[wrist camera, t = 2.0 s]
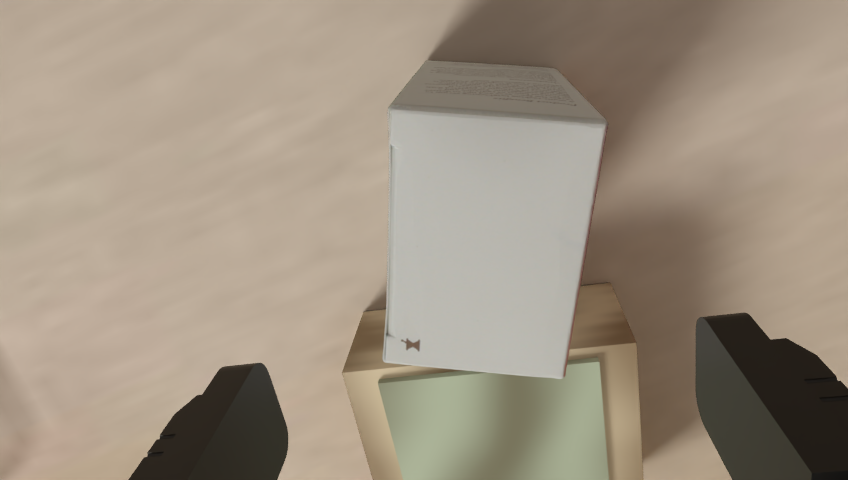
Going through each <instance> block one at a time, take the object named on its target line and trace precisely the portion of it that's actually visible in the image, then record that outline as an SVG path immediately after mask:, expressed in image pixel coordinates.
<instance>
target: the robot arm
mask: <svg viewBox="0 0 848 480" xmlns="http://www.w3.org/2000/svg"><path fill="white" fill-rule="evenodd" d="M696 398H697V404H698V408H699V412H700V416H701V419H702V422H703V424H704V426H705V428H706V430H707V432H708V434H709V436H710V438H711V440H712V442H713V444H714V446H715V447H716V449H717V451H718V453H719V455H720V457H721V459H722V461H723V463H724V465H725V467H726V468H727V470H728V472H729V474H730V476H731V478H732V480H848V388H847V387H846V386H845V385H844V384H843V383H842V382H841V381H837V377H836V376H835V374H834V373H833V372H832V371H831V370H830V369H829V368H828V367H827V366H826V365H825V364H824V363H823V362H822V360H821V359H820V358H819V357H818V356H817V355H815V354H814V353H812V352H810V351H808V350H806V349H805V348H803V347H801V346H799V345H797V344H796V343H794V342H792V341H790V340H788V339H787V338H784V339H773V340H770V339H769V338H768V336H767V335H766V334H765V333H764V332H763V330H762V329H761V328H760V327H759V326H758V324H757V323H756V322H755V321H754V320H753V319H752V317H751V316H750V315H749V314H747V313H736V314H727V315H717V316H708V317H700V318H699V319H698V320H697V324H696ZM287 450H288V431H287V426H286V423H285V420H284V417H283V414H282V411H281V408H280V405H279V402H278V399H277V396H276V393H275V390H274V387H273V384H272V381H271V378H270V375H269V373H268V370H267V368H266V367H265V366H264V365H263V364H262V363H254V364H244V365H235V366H226V367H222V368H221V369H220V370H219V371H218V372H217V374H216V375H215V377H214V378H213V380H212V381H211V383H210V384H209V386H208V387H207V388H206V390H205V391H204V393H203V394H202V395H197V396H196V397H195V398H193V399H192V400H191V401H190V402H189V403H187V404H186V405H185V406H184V407H183V408H182V409H180V410H179V411H178V412H177V413H176V414H174V416H173V417H172V419H171V420H170V422H169V423H168V424H167V426H166V427H165V429H164V430H163V431H162V433H161V434H160V439H158V440H156V441H155V443H154V444H153V446H152V447H151V449H150V450H149V451H148V456H147V457H144V458H143V460H142V461H141V463H140V464H139V466H138V467H137V468H136V470H135V471H134V473H133V474H132V476H131V477H130V478H129V480H277V479H278V476H279V474H280V471H281V469H282V466H283V464H284V461H285V458H286V455H287Z"/></svg>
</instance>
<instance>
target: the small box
mask: <svg viewBox="0 0 848 480" xmlns="http://www.w3.org/2000/svg"><path fill="white" fill-rule="evenodd" d="M607 129H608V122H607V121H606V119H605V118H604V117H603V116H602V115H601V114H600V113H599V112H598V111H597V110H596V109H595V108H594V107H593V106H592V105H591V104H590V103H589V102H588V101H587V100H586V99H585V98H584V97H583V96H582V94H581V93H580V92H579V91H578V90H577V89H576V88H575V87H574V86H573V85H572V84H571V83H570V82H569V81H568V80H567V79H566V78H565V77H564V76H563V75H562V74H561V73H560V72H559V71H558V70H557V69H555V68H545V67H532V66H517V65H501V64H484V63H468V62H450V61H425V62H424V64H423V65H422V66H421V68H420V69H419V70H418V71H417V72H416V73H415V75H414V76H413V77H412V78H411V80H410V81H409V82H408V83H407V84H406V86H405V87H404V88H403V90H402V91H401V92H400V93H399V95H398V96H397V97H396V98H395V100H394V101H393V102H392V103H391V105H390V106H389V108H388V133H389V210H388V259H387V296H386V317H385V332H384V346H383V355H382V359H383V361H384V362H385V363H393V364H403V365H413V366H421V367H433V368H443V369H454V370H465V371H476V372H487V373H497V374H508V375H518V376H530V377H543V378H555V379H562V378H564V377H565V375H566V368H567V362H568V356H569V350H570V344H571V338H572V332H573V326H574V320H575V314H576V308H577V303H578V297H579V291H580V285H581V279H582V273H583V267H584V261H585V256H586V250H587V244H588V238H589V232H590V226H591V220H592V214H593V209H594V203H595V197H596V191H597V186H598V180H599V174H600V168H601V161H602V155H603V149H604V143H605V138H606V133H607Z"/></svg>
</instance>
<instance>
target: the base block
mask: <svg viewBox="0 0 848 480" xmlns="http://www.w3.org/2000/svg"><path fill="white" fill-rule="evenodd" d="M385 317H386V309H383V310H375V311H367V312H363V315H362V318H361V321H360V323H359V326H358V329H357V332H356V335H355V338H354V340H353V343H352V346H351V349H350V352H349V355H348V357H347V360H346V363H345V366H344V369H343V372H342V375H343V378H344V381H345V385H346V388H347V392H348V395H349V399H350V402H351V406H352V409H353V413H354V416H355V420H356V423H357V426H358V430H359V433H360V437H361V440H362V444H363V447H364V451H365V454H366V458H367V461H368V465H369V468H370V471H371V475H372V478H373V480H643V463H642V443H641V423H640V403H639V383H638V363H637V343H636V340H635V338H634V336H633V334H632V331H631V329H630V327H629V325H628V322H627V320H626V318H625V315H624V313H623V311H622V309H621V306H620V304H619V302H618V300H617V297H616V295H615V293H614V290H613V288H612V286H611V284H610V283H603V284H594V285H586V286H580V291H579V297H578V303H577V308H576V314H575V320H574V326H573V332H572V338H571V344H570V350H569V356H568V362H567V368H566V375H565V377H564V378H562V379H555V378H543V377H530V376H518V375H508V374H497V373H487V372H476V371H465V370H454V369H443V368H433V367H421V366H413V365H403V364H393V363H385V362H384V361H383V359H382V355H383V346H384V332H385Z"/></svg>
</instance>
